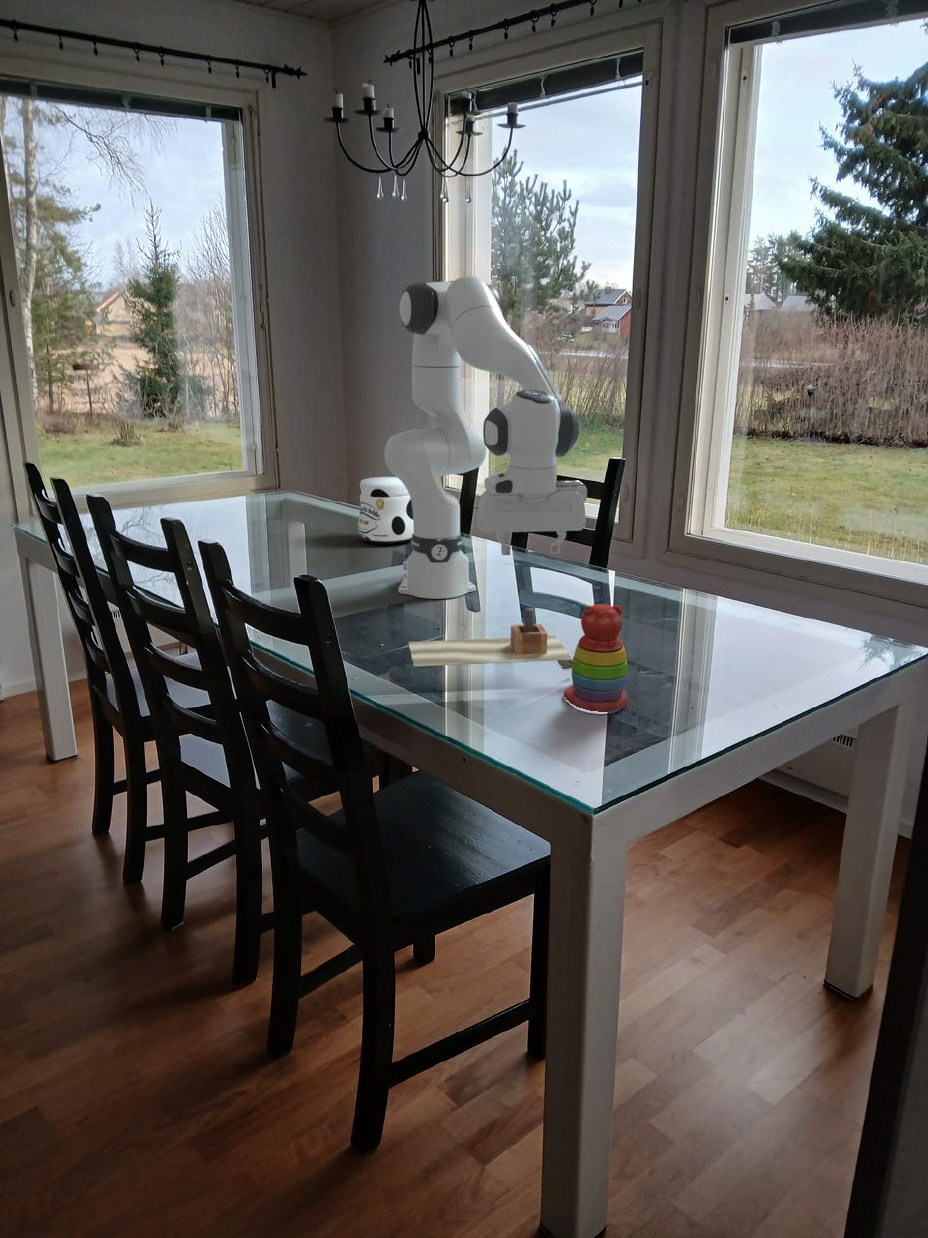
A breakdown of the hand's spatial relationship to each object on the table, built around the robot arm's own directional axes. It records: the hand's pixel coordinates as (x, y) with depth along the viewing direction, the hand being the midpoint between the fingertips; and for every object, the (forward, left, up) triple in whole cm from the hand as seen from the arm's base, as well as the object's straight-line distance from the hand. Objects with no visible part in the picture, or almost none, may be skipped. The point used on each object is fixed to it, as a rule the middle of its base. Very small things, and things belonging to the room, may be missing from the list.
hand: (530, 553), depth 178 cm
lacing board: (0, -8, -20) cm, 22 cm away
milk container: (-105, -22, -21) cm, 109 cm away
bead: (0, 0, -19) cm, 19 cm away
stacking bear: (+26, +7, -21) cm, 34 cm away
